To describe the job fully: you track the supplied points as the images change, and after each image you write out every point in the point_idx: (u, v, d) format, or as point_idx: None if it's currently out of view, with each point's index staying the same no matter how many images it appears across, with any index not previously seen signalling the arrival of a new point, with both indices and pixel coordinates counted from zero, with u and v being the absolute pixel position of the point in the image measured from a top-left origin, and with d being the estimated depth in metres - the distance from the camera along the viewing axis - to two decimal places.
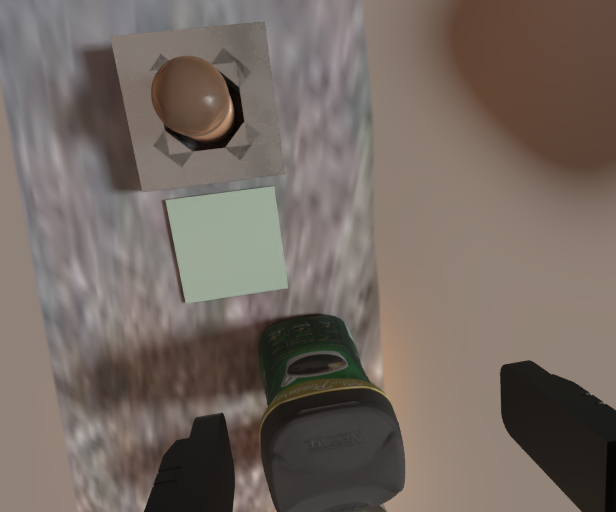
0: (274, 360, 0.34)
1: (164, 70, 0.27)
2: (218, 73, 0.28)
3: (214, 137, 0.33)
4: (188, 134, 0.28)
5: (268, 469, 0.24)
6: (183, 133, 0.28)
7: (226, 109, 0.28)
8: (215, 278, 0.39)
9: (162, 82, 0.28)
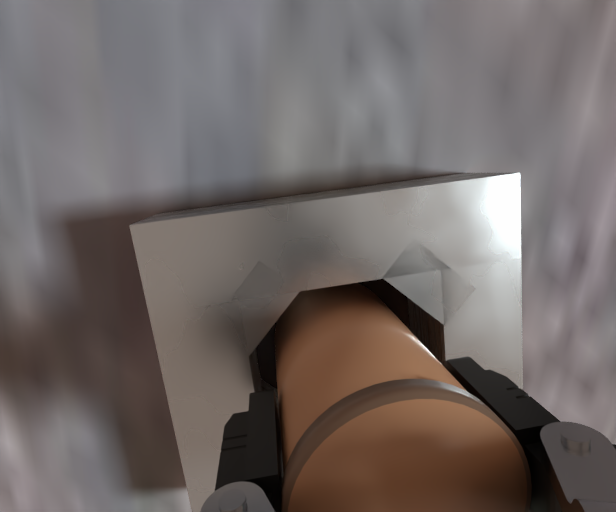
0: None
1: (332, 446, 0.08)
2: (509, 438, 0.08)
3: None
4: None
5: None
6: None
7: None
8: None
9: (321, 481, 0.08)
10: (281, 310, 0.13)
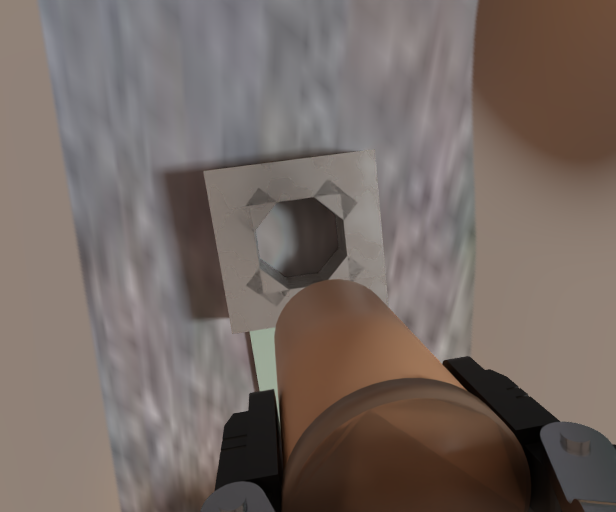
0: None
1: (331, 445, 0.08)
2: (509, 437, 0.08)
3: None
4: None
5: None
6: None
7: None
8: None
9: (321, 480, 0.08)
10: (268, 210, 0.29)
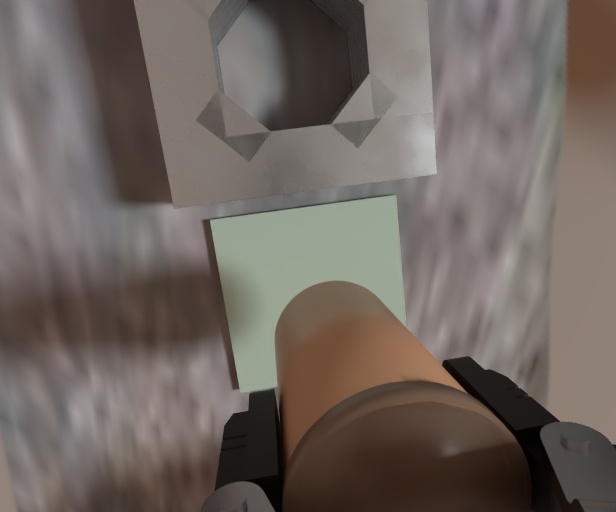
0: None
1: (332, 448, 0.08)
2: (509, 440, 0.08)
3: None
4: None
5: None
6: None
7: None
8: None
9: (321, 483, 0.08)
10: None
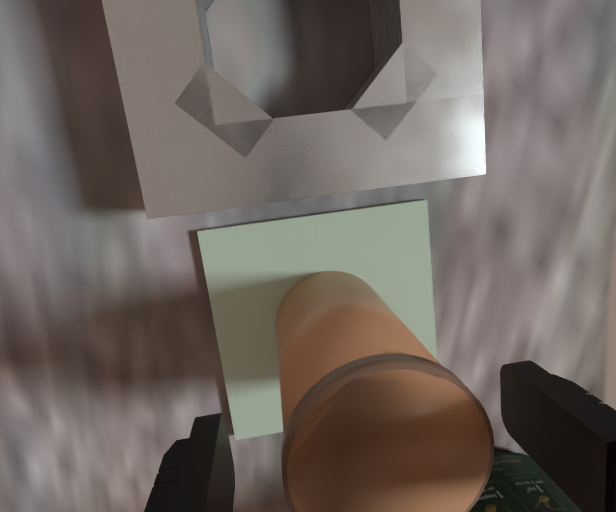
0: None
1: (323, 409, 0.09)
2: (474, 402, 0.10)
3: None
4: None
5: None
6: None
7: (483, 484, 0.10)
8: None
9: (315, 438, 0.09)
10: None
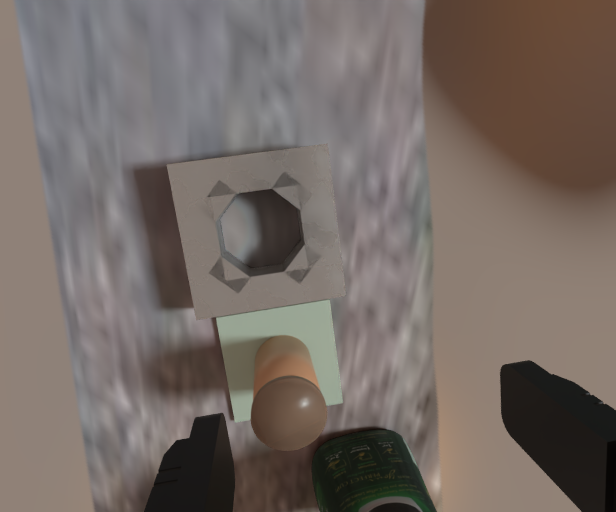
0: (339, 503, 0.31)
1: (264, 395, 0.27)
2: (317, 392, 0.28)
3: None
4: (286, 449, 0.28)
5: None
6: (281, 448, 0.28)
7: (324, 423, 0.28)
8: None
9: (261, 405, 0.27)
10: (228, 201, 0.31)
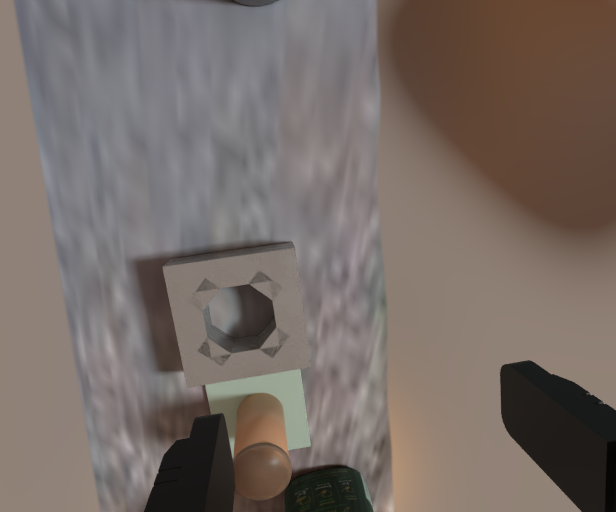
0: None
1: (241, 459, 0.34)
2: (283, 456, 0.35)
3: None
4: (259, 499, 0.35)
5: None
6: (255, 498, 0.35)
7: (289, 478, 0.35)
8: None
9: (239, 467, 0.35)
10: (213, 295, 0.37)
